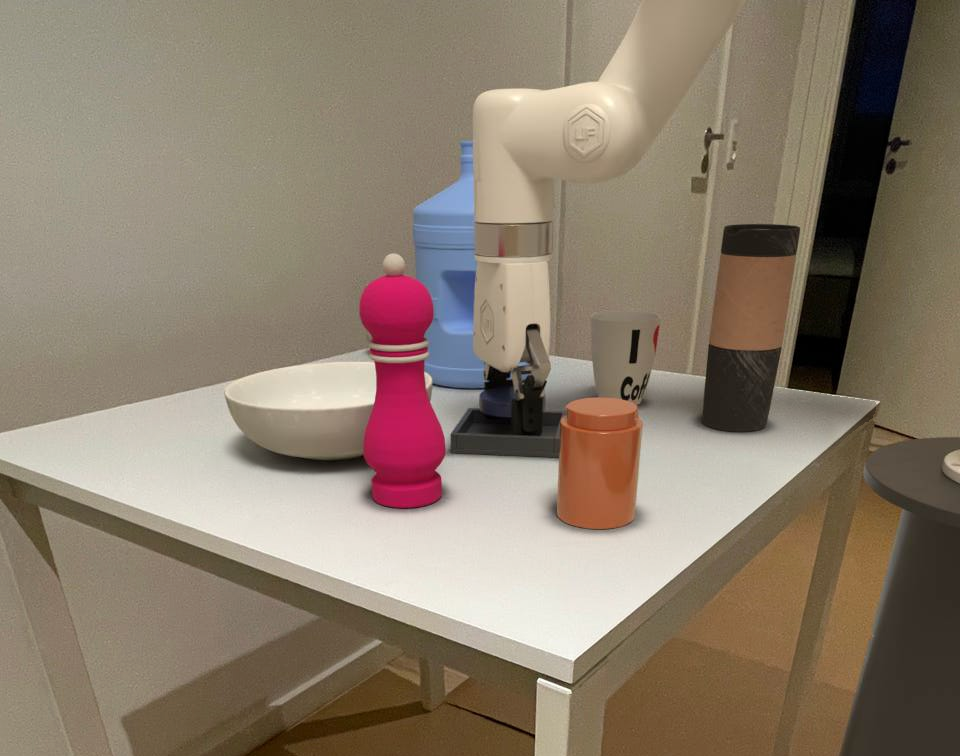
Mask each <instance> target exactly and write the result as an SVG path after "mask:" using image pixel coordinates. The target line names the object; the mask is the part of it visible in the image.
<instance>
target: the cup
mask: <svg viewBox="0 0 960 756" xmlns="http://www.w3.org/2000/svg"><path fill="white" fill-rule="evenodd" d="M661 317H662V315H660V314H658V313H655V312H650V311H643V310H642V311H641V310H607V311H599V312H595V313H592V314H591V315H590V330H591V331H590V332H591V333H590V348H591V349H590V352H591V360H592V361H591V363H592V370H593V371H592V372H593V378H594V379H593V381H594V386H595V388H596V394H597V398H599V397H600V398H616V399H622V400H626V401H629V402H632V403H634V404H636V405H637V406H638V405H639V404H641V402H642V399H643V397H644V395H645V392H646V389H647V387H648V385H649V381H650V378H651V373H652V370H653V365H654V361H655V358H656V357H655V356H656V353H657V345H658V341H659V340H658V339H659V332H660V326H661Z"/></svg>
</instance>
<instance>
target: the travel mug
mask: <svg viewBox="0 0 960 756" xmlns="http://www.w3.org/2000/svg"><path fill="white" fill-rule="evenodd" d="M800 234H801V227H800V226H797V225H791V224H777V223H775V224H773V223H743V224H742V223H741V224H740V223H739V224H729V225H725V226H724V227H723V233H722V239H721V247H720V254H719V263H718V268H717V269H718V270H717V278H716V283H715V284H716V286H715V293H714V299H713V306H712V307H713V308H712V313H711V315H712V316H711V322H710V331H709V338H708V348H707V359H706V366H705V367H706V368H705V380H704V388H703V389H704V391H703V400H702V401H703V402H702V413H701V422H702V424H703V425H704V426H706V427H708V428H712V429H713V430H714V429H715V430H719V431H722V432H723V431H724V432H732V433H733V432H736V433H745V432H746V433H748V432H756V431H760V430H763V429H764V428H766V427H767V424H768V419H769V415H770V411H771V406H772V400H773V395H774V389H775V385H776V380H777V375H778V370H779V365H780V360H781V354H782V349H783V347H782V346H783V343H784V337H785V331H786V325H787V319H788V318H787V317H788V311H789V305H790V300H791V292H792V287H793V279H794V273H795V267H796V266H795V265H796V261H797V260H796V259H797V252H798V246H799V241H800Z"/></svg>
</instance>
